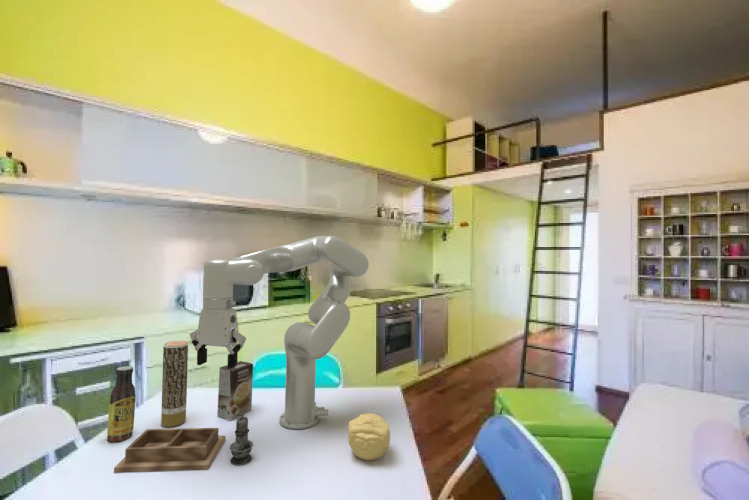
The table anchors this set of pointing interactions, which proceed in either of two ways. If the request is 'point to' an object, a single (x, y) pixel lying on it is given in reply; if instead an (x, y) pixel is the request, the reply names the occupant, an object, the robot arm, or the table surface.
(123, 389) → the sauce bottle
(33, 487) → the table surface
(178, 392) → the paper tube
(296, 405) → the robot arm
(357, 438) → the sculpture
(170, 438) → the condiment rack
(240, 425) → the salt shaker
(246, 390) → the coffee box
